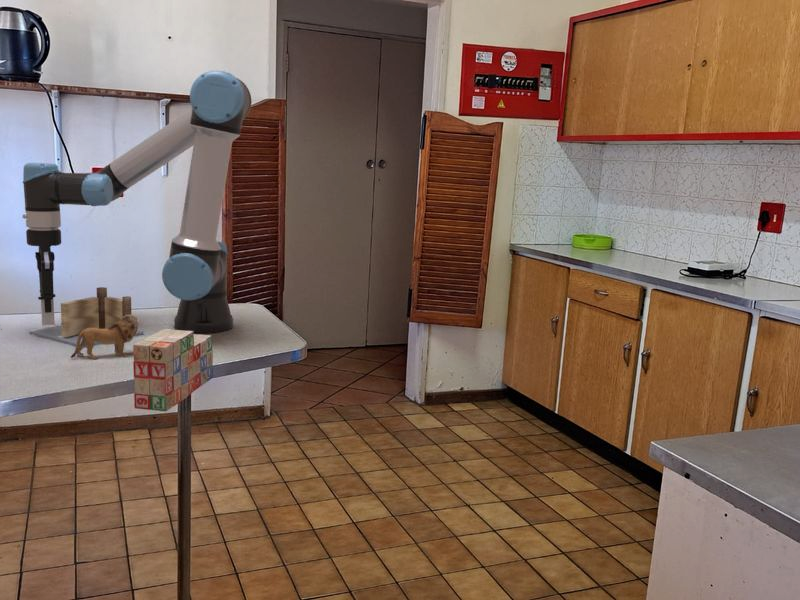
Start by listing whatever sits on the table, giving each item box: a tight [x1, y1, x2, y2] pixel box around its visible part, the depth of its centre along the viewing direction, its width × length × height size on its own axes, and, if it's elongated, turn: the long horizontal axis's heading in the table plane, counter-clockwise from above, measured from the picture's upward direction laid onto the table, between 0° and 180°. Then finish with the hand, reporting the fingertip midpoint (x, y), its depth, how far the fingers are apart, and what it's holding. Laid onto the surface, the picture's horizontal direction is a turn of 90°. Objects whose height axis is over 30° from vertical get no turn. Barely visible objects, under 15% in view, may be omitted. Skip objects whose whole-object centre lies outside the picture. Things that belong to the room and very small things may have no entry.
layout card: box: [29, 324, 144, 348], centre depth 183 cm, size 20×18×1 cm
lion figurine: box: [69, 314, 139, 360], centre depth 165 cm, size 15×5×9 cm, turn 127°
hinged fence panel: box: [60, 296, 99, 337], centre depth 180 cm, size 10×2×8 cm, turn 157°
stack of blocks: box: [132, 328, 214, 412], centre depth 142 cm, size 21×6×12 cm, turn 172°
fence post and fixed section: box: [96, 286, 132, 329], centre depth 184 cm, size 12×2×11 cm, turn 59°
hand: (48, 324), depth 181 cm, fingers closed
